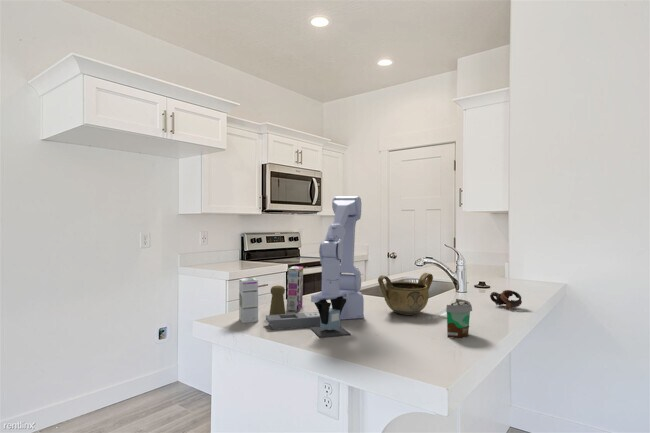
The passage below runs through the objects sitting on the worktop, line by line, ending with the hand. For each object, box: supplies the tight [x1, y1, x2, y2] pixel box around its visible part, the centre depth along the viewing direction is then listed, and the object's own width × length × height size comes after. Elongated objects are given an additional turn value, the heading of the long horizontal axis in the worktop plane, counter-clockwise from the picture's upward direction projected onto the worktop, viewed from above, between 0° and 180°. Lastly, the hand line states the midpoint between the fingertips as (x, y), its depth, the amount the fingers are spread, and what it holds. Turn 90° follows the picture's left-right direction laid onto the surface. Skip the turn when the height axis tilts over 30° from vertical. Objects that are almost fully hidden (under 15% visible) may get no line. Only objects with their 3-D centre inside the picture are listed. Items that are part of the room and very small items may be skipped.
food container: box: [445, 298, 473, 339], centre depth 121 cm, size 12×6×10 cm, turn 148°
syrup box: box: [238, 277, 259, 324], centre depth 136 cm, size 6×6×14 cm
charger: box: [319, 307, 341, 330], centre depth 123 cm, size 4×5×6 cm
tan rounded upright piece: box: [268, 285, 286, 315], centre depth 143 cm, size 6×6×11 cm
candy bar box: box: [285, 265, 304, 313], centre depth 155 cm, size 11×5×16 cm, turn 175°
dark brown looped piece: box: [489, 289, 523, 311], centre depth 161 cm, size 12×10×8 cm
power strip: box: [265, 311, 320, 330], centre depth 132 cm, size 24×7×4 cm, turn 108°
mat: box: [310, 325, 352, 339], centre depth 123 cm, size 10×10×1 cm
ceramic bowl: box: [377, 272, 434, 316], centre depth 149 cm, size 22×17×15 cm
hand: (330, 322), depth 123 cm, fingers closed on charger, 4 cm apart
